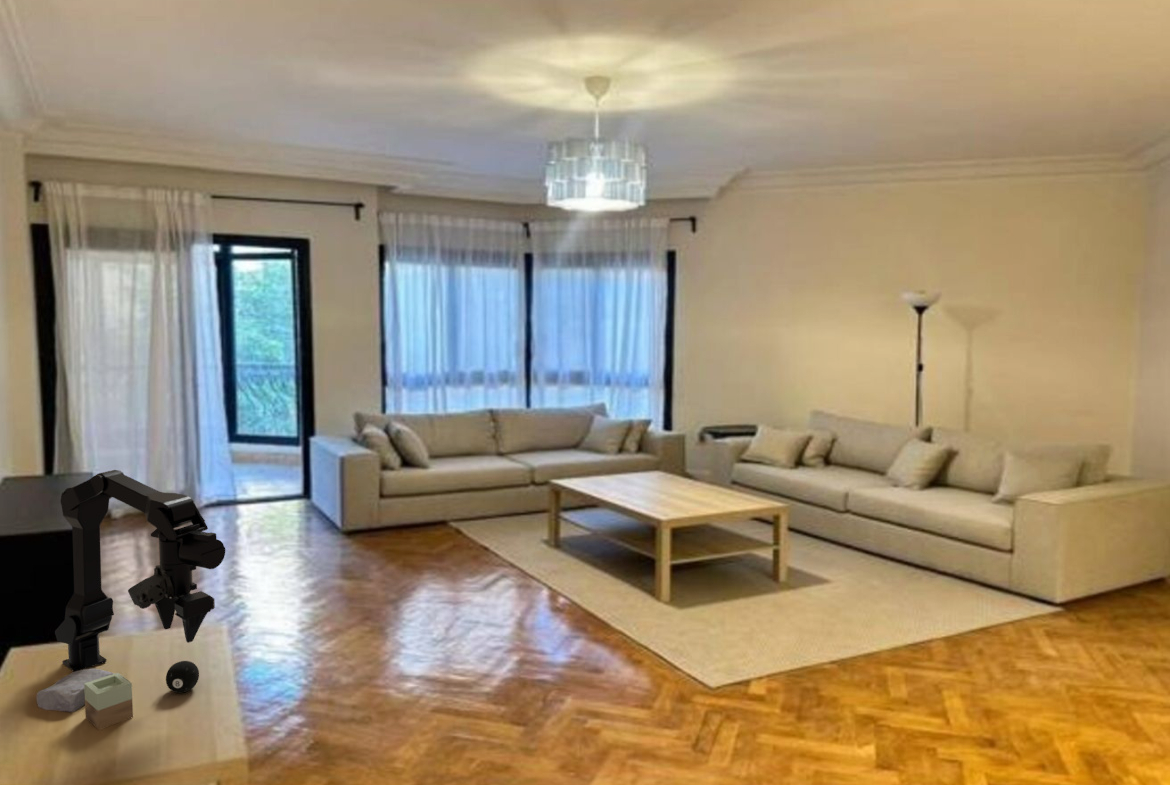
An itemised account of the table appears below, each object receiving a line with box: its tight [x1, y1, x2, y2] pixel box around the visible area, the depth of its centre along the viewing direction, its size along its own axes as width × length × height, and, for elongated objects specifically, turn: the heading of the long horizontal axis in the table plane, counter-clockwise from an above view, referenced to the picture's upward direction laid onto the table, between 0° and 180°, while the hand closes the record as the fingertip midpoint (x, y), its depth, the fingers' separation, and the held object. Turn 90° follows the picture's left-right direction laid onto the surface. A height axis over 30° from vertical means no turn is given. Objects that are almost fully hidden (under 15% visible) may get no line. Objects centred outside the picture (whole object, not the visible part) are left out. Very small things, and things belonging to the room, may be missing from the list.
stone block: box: [36, 667, 115, 713], centre depth 164 cm, size 12×5×10 cm
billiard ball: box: [165, 660, 200, 693], centre depth 167 cm, size 6×6×6 cm
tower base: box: [84, 698, 134, 731], centre depth 156 cm, size 6×6×4 cm
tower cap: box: [84, 672, 133, 711], centre depth 156 cm, size 6×6×3 cm
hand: (178, 635), depth 166 cm, fingers open, 9 cm apart
